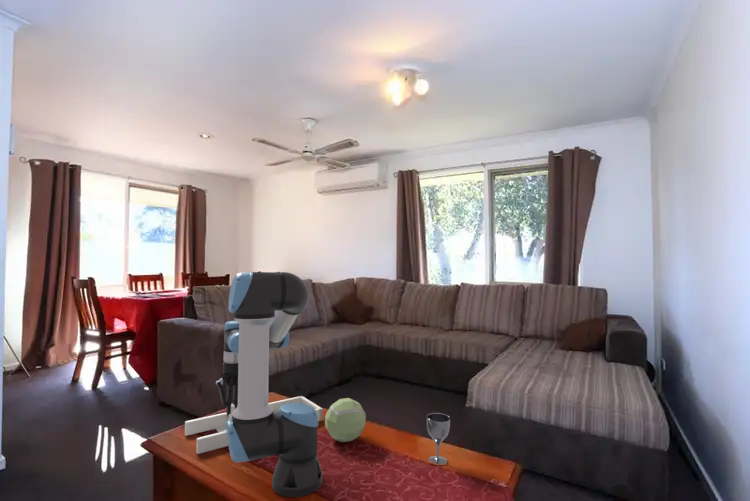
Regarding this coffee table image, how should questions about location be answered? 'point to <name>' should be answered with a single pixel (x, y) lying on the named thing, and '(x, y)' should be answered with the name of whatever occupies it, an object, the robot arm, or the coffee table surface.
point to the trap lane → (220, 425)
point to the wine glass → (438, 433)
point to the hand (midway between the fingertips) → (231, 421)
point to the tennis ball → (345, 420)
